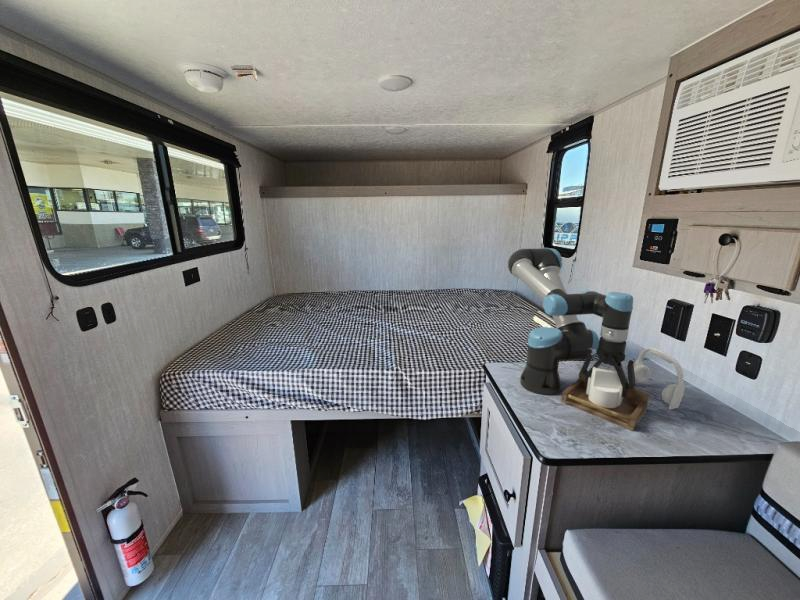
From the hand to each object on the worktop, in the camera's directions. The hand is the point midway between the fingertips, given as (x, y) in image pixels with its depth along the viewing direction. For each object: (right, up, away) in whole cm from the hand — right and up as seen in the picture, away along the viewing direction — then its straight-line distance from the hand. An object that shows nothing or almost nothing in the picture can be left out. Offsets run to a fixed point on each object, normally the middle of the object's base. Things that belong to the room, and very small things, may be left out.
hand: (603, 398), depth 111 cm
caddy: (0, -3, +1) cm, 3 cm away
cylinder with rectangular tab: (0, -1, 0) cm, 1 cm away
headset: (+24, -2, +7) cm, 25 cm away
